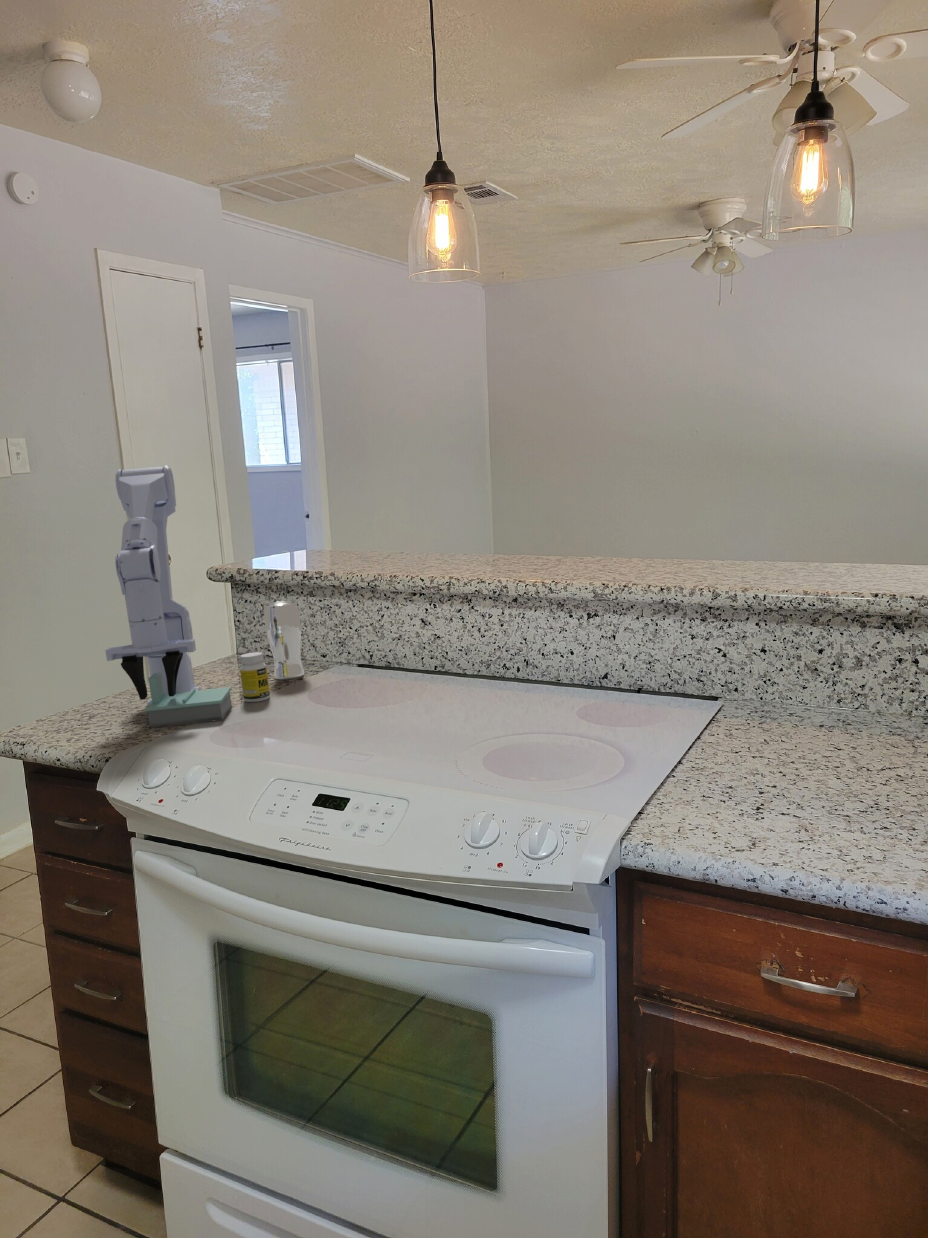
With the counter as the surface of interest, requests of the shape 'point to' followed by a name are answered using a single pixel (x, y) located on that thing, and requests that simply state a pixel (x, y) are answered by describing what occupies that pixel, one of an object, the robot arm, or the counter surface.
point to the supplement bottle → (254, 677)
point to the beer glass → (284, 638)
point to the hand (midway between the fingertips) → (158, 696)
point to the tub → (189, 714)
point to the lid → (182, 696)
